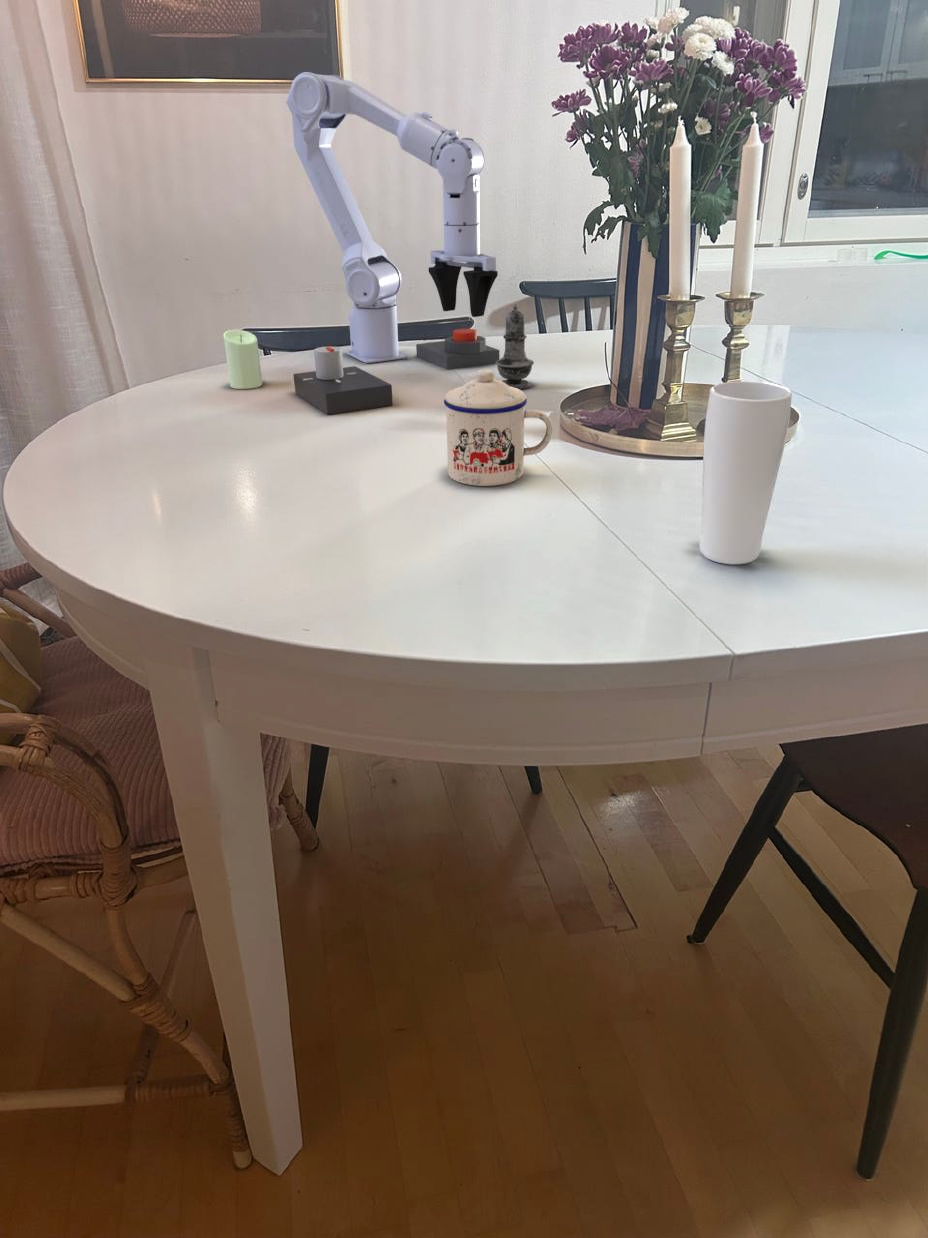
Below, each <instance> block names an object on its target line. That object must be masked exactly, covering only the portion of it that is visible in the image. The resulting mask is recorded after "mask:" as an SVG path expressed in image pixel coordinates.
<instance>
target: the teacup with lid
mask: <svg viewBox="0 0 928 1238" xmlns="http://www.w3.org/2000/svg"><path fill="white" fill-rule="evenodd" d="M495 375H496V374H495V372H494V371H493V370H492V369H480V370H478V371H477V372H476V373H475V379H472V380H468V381H467V382H466V383H464V384H463V385H462V386H459V387H455V388H453V389H450V390H449V391H448V392H447V393H446V394H445V396H444V399H443V404H444V406H445V407H446V409H445V411H446V412H445V413H446V414H445V415H446V453H447V454H446V455H447V456H446V457H447V474H448V476H449V477H450V478H451V479H452V480H454V482H455V481H456V482H457V483H460V484H464V485H469V486H475V487H476V486H477V487H494V486H502V485H506V484H511V483H512V482H515V481H517V480H519V479H521V477H522V476H523V474H524V462H525V461H524V459H525V458H524V457H525V456H532V455H537V454H539V453H541V452H542V451H544V450H545V449H546V448H547V446H548V445H549V443H550V442H551V439H552V436H553V429H554V428H553V427H554V426H553V422H552V420H551V418H550V417H549V416H548V415H547V414H546V413H545V412H543V411H541V410H535V409H529V410H528V409H526V410H525V406H526V405H527V403H528V400H527V396H526V393H524V391H523V390H522V389H521V390H519V389H517V388H514V387H511V386H508V385H507V384H505V383H504V382H502V381H503V380H500V379H496V378H495ZM531 418H532V419H539V420H541V421H542V422H543V423H544V424H545V426H546V431H545V434H544V435H543V438H542V440H541V441H540V442H539V443H538V444H536V445H534V446H530V447H525V419H531Z"/></svg>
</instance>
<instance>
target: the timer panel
mask: <svg viewBox="0 0 928 1238" xmlns="http://www.w3.org/2000/svg"><path fill="white" fill-rule="evenodd" d="M343 375H344V376H343V377H342V378H340V379H334V380H321V379H318V378H317V377H316V370H314V371H306V372H298V373H293V382H294V392H295V395H297V396H298V397H300V398H302V399H303V400H304V401H306V402H308V403H309V404H310V405H312V406H314V407H315V408H317V409H318V410H320V411H321V412H323V413H324V414H325V415H328V416H329V415H337V414H343V413H349V412H357V411H364V410H370V409H377V408H385V407H390V406H393V405H394V404H393V403H394V402H393V385H392V384H391V383H389V382H387V381H385V380H384V379H381V378H379V377H377V376H375V375H373V374H372V373H369V372H367V371H365V370H363V369H361V367H358V366H356V365H352V366H346V367H343Z"/></svg>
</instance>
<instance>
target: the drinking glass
mask: <svg viewBox="0 0 928 1238" xmlns="http://www.w3.org/2000/svg"><path fill="white" fill-rule="evenodd" d="M792 397H793V393H792V391H791V390H790V389H789V388H786V387H784V386H782V385H778V384H774V383H769V382H763V381H762V382H761V381H745V380H744V381H743V380H740V381H738V380H737V381H725V382H721V383H718V384H715V385H713V386H711V387H710V389H709V394H708V400H707V404H706V405H707V406H706V413H705V419H704V420H705V421H704V430H703V431H704V432H703V447H702V448H703V452H702V496H701V522H700V523H701V525H700V537H699V551H700V553H701V554H702V555H703V556H704V557H705V558H706V559H708V560H710V561H713V562H715V563H719V564H722V565H723V564H724V565H745V564H749V563H752V562H753V561H755V560H756V559H757V558H758V557H759V555H760V553H761V549H762V543H763V536H764V531H765V527H766V523H767V519H768V515H769V511H770V507H771V502H772V499H773V494H774V491H775V486H776V482H777V478H778V475H779V471H780V467H781V462H782V458H783V454H784V449H785V446H786V440H787V436H788V431H789V425H790V416H791V410H792V409H791V407H792V399H793V398H792Z"/></svg>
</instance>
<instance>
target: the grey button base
mask: <svg viewBox="0 0 928 1238" xmlns="http://www.w3.org/2000/svg"><path fill="white" fill-rule="evenodd" d="M486 339H487V338H486V337H484V336H481V335H477V341H471V342H458V341H453V335H451V336H448V337H445V338H444V340H440V341H431V342H423V343H416V344H415V346H416V347H415V349H416V357H417V358H419V359H421V360H423V361H426V362H428V363H431V364H433V365H435V366H437V367H440V368H442V369H444V370H457V369H462V368H463V369H464V368H473V367H479V366H486V365H494V364H496V361H497V360H500V349H498V348H495V347H492V346H489V345H487V340H486Z"/></svg>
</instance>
